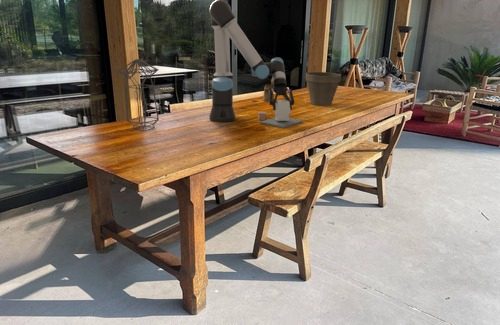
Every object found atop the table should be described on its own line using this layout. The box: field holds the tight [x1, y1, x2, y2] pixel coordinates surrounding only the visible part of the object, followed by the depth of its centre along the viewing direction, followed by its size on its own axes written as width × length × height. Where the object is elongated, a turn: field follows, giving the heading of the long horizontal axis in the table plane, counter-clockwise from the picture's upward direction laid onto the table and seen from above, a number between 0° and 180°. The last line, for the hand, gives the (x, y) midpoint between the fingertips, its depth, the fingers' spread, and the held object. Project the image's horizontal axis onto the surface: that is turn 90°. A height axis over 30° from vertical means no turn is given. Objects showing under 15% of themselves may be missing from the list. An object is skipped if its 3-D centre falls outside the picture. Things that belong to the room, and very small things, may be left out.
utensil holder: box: [262, 77, 275, 102], centre depth 292 cm, size 9×14×18 cm, turn 138°
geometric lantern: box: [117, 58, 160, 132], centre depth 197 cm, size 16×16×35 cm
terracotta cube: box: [257, 111, 267, 121], centre depth 230 cm, size 4×4×4 cm
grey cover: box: [274, 99, 290, 121], centre depth 220 cm, size 7×7×10 cm
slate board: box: [259, 117, 304, 129], centre depth 222 cm, size 20×16×1 cm
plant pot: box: [305, 71, 342, 107], centre depth 280 cm, size 25×25×22 cm
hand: (283, 114), depth 217 cm, fingers closed on grey cover, 7 cm apart
